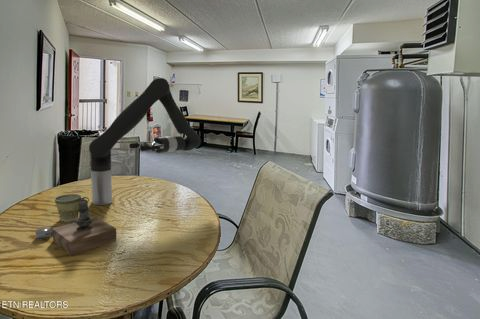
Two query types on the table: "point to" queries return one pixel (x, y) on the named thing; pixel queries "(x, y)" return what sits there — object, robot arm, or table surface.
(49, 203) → the table surface
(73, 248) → the walnut stand
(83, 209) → the salt shaker
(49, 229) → the grey metal puck
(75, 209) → the ceramic cup
